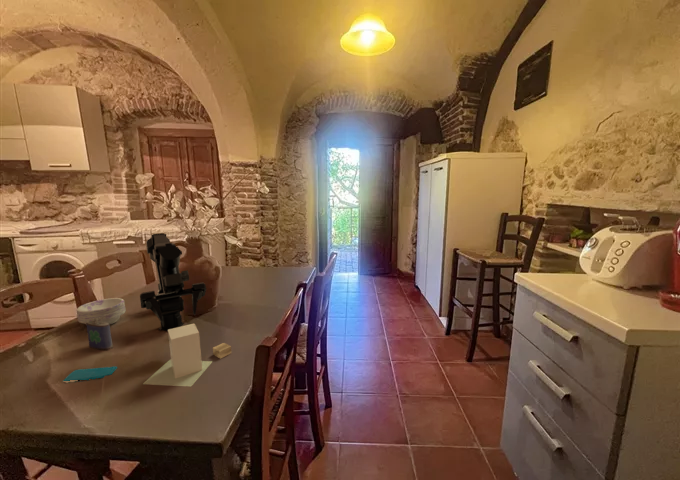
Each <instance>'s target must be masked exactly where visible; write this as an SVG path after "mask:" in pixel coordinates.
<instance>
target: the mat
mask: <svg viewBox="0 0 680 480" xmlns="http://www.w3.org/2000/svg"><path fill="white" fill-rule="evenodd" d="M212 363H213V361H212V360H211V361H210V360H209V361H208V360H202V370H200V371H197V372H194V373H191V374H188V375H185V376H182V377H179V378H176V379H175V376H174V373H173V369H172V364H171V359H169V360H168V361H166V362H165V363H164V364H163V365H162V366H161V367H160V368H159V369H158V370H156V371H155V372H154V373H153V374H152V375H151V376H150V377H148V379H146V381H144V382H143V383H142V385H153V386H168V387H169V386H171V387H172V386H174V387H189V388H191V387H192V386H193V385H194V384H195V382H197V380H198V379H199V378H200V377H201V376H202V375H203V374H204V373H205V371H206V370H207V369H208V368H209V367H210V366H211V364H212Z"/></svg>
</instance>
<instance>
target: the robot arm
mask: <svg viewBox="0 0 680 480" xmlns="http://www.w3.org/2000/svg"><path fill="white" fill-rule="evenodd" d="M145 243H146V244H145V246H146V247H145V248H146V253H147V254H149V259H150V260H151V261H153V263H155V266H156V267H155V268H156V273H157V278H158V284H160V291H159V292H158V291H157V294H156V292H155V290H149V291H144V292H141V293H140V294H139V300H140V308H141V309H146V310H150V311H152V313H153V314H154V315H155V316H156V318H158V320H159V321H160V327H159V328H158V329H157V330H158V331H162V332H163V331H164V332H166V331H167V332H168V330H169V329H173V328H177V327H181V326H184V324H185V322H183V319H182V315H181V312H184V309H185V308H184V307H185V306H184V303H185V301H184V298H182V297H183V296H189V295H191V305H192V312H193V313H192V314H193V316H196V314H197V305H198V301H199V300H201V299H202V297H205V295H206V292H207V286H206V283H204V282H203V281H202V282H196V283H192V284H191V287H190V288H185V283H184V282H187V281H188V282H189V280H190V274H189V271H188V270H182V271H181V272H180V268H179V266H180V263H181V257H182V255H183V251H182V250H181V249H180V248H179V247H178V246H176V244H175V243H173V242H171V240H170V238H169V237H167V233H163V232H160V233H152V234H151V237H150V238H148V239H147V240H146V241H145ZM184 288H185V289H184Z"/></svg>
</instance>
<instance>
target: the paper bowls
mask: <svg viewBox="0 0 680 480" xmlns="http://www.w3.org/2000/svg"><path fill="white" fill-rule="evenodd" d="M75 311H76V317H77V321H78V323H80V324H85V325H86V322H87V321H91V320H92V319H94V318H100V319H99V320H100V321H99V322H104V323H110V325H112V324H114V323H117V322H118V321H119V320H120V319H121V316H122V315H124V314H125V313H126V303H125V299H123V298H119V297H114V298H111V297H110V298H104V299H97V300H94V301H90V302H87V303H84V304H82V305H80V306H78V307H77V308H76V310H75Z"/></svg>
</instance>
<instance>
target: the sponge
mask: <svg viewBox="0 0 680 480" xmlns="http://www.w3.org/2000/svg"><path fill="white" fill-rule="evenodd" d="M117 369H118V367H117V365H115V366H106V367H105V366H104V367H94V368H92V367H91V368H81V369H74V370H73V371H71V373H69V374H68V375H67V376H66V377H65V378H64V379H63V380H62V382H63V381H70V380H87V381H90V380H89V379H92V380H99V379H98V378H100V379H103V378H106V377H108V376H111V375H113V373H114V372H115V371H116V370H117ZM105 376H106V377H105ZM96 378H97V379H96Z"/></svg>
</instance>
